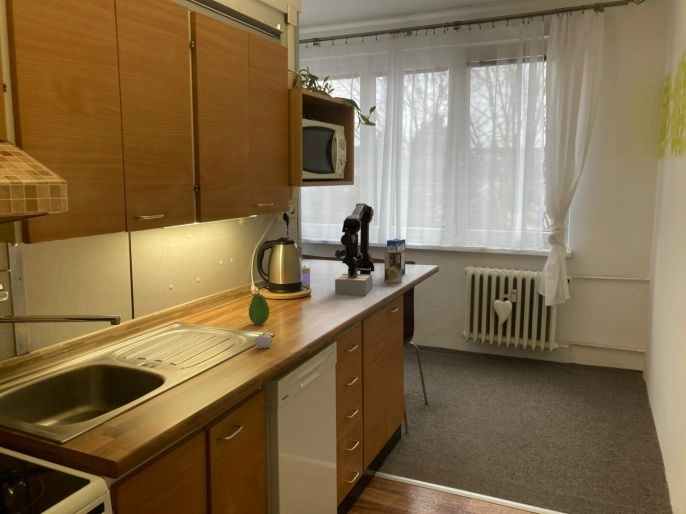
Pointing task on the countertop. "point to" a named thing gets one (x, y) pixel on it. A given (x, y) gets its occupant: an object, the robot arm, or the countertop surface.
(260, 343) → the garlic
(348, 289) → the box
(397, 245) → the milk carton
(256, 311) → the avocado
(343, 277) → the cover plate
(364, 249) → the robot arm
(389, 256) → the coffee box
